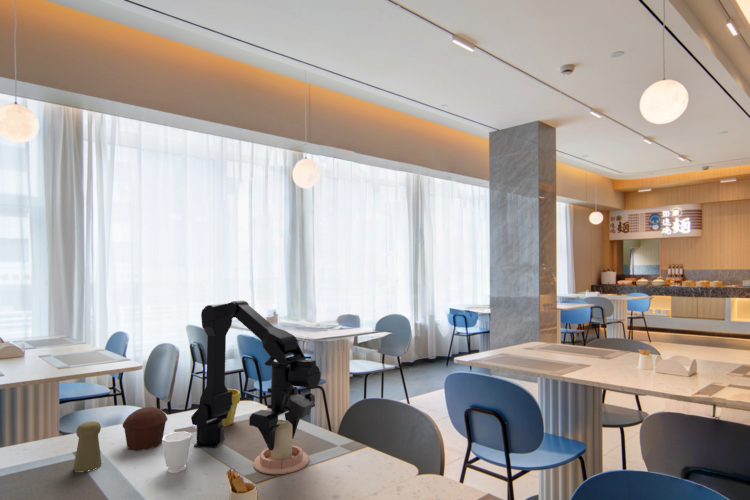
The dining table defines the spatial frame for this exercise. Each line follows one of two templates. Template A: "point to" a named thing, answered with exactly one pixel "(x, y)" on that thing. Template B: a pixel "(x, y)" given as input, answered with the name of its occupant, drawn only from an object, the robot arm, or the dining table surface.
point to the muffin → (144, 428)
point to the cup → (177, 450)
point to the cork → (88, 447)
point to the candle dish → (281, 462)
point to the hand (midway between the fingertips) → (281, 444)
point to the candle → (282, 441)
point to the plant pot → (232, 407)
